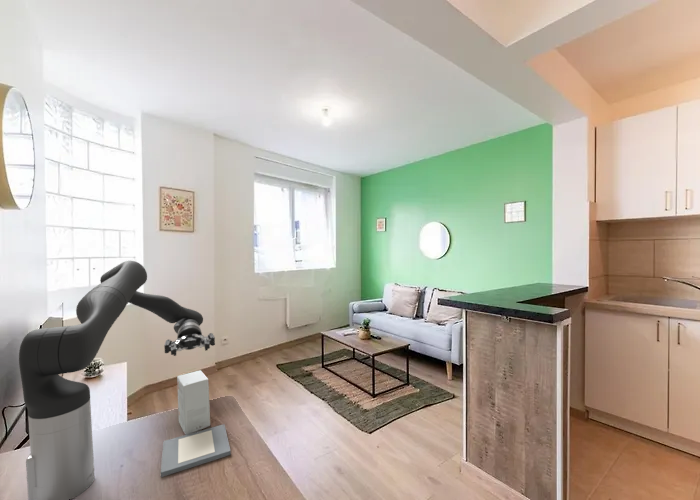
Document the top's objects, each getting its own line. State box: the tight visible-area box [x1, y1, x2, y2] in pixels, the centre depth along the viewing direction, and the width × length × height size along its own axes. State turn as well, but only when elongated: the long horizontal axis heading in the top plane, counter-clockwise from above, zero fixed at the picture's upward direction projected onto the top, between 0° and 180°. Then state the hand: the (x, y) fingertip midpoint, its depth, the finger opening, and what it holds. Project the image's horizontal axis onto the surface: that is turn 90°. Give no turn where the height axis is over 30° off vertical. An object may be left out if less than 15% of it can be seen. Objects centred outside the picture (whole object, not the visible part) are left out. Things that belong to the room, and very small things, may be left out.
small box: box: [176, 369, 211, 435], centre depth 86 cm, size 8×6×13 cm
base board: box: [160, 423, 232, 478], centre depth 76 cm, size 14×12×1 cm
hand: (191, 349), depth 95 cm, fingers open, 8 cm apart
